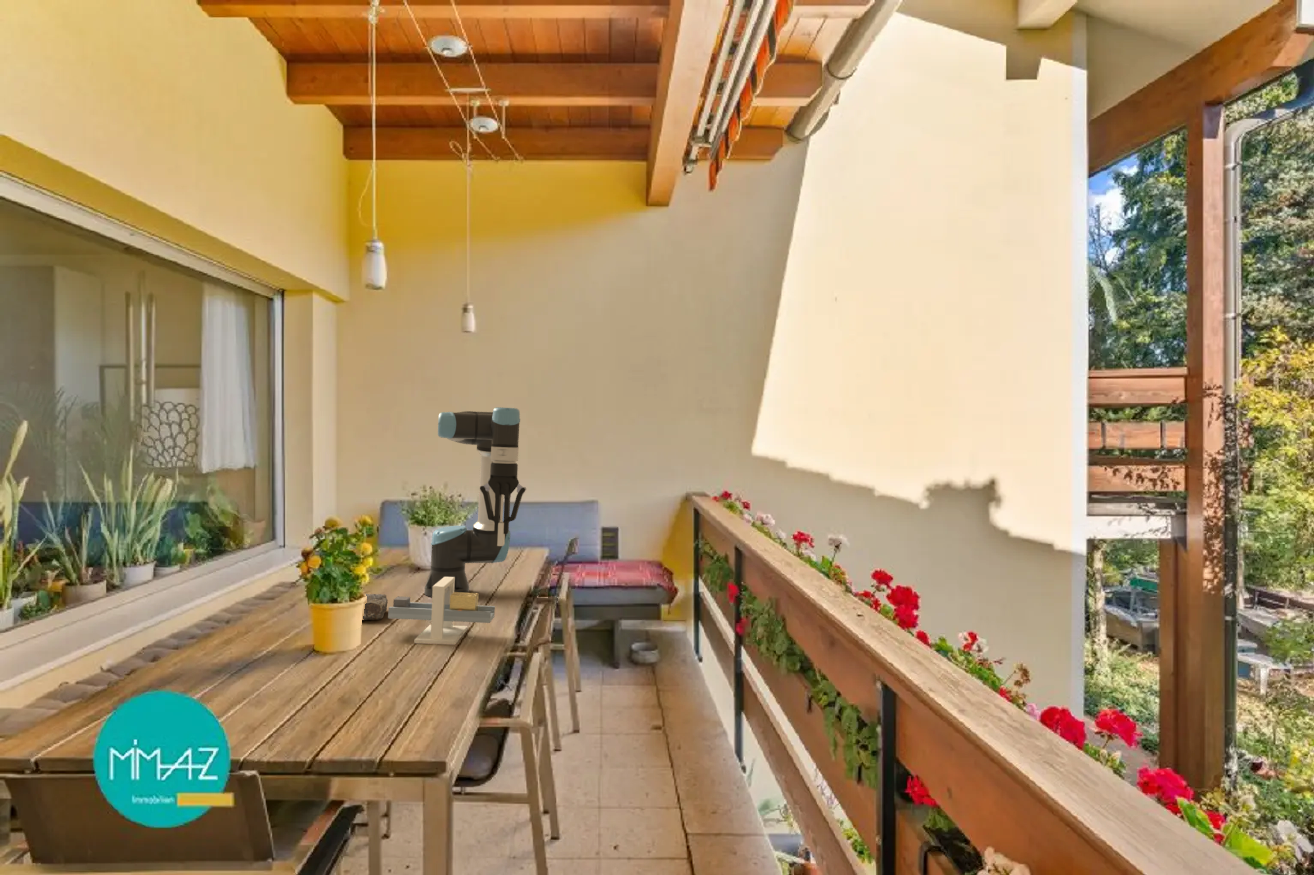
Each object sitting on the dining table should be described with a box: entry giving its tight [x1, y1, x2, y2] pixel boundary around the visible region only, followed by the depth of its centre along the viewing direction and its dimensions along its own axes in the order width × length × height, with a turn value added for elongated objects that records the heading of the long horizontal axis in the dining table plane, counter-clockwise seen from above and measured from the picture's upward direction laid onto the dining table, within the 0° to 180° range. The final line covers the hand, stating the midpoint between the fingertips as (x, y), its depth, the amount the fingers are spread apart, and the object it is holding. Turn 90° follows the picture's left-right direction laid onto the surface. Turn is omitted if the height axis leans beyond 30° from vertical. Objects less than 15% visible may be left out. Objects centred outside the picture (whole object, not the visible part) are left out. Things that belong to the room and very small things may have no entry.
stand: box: [414, 577, 468, 645], centre depth 194 cm, size 14×11×16 cm
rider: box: [450, 592, 480, 611], centre depth 194 cm, size 4×7×6 cm, turn 92°
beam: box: [387, 586, 496, 624], centre depth 194 cm, size 8×28×8 cm, turn 92°
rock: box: [363, 593, 389, 621], centre depth 210 cm, size 13×6×15 cm
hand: (500, 545), depth 194 cm, fingers closed
